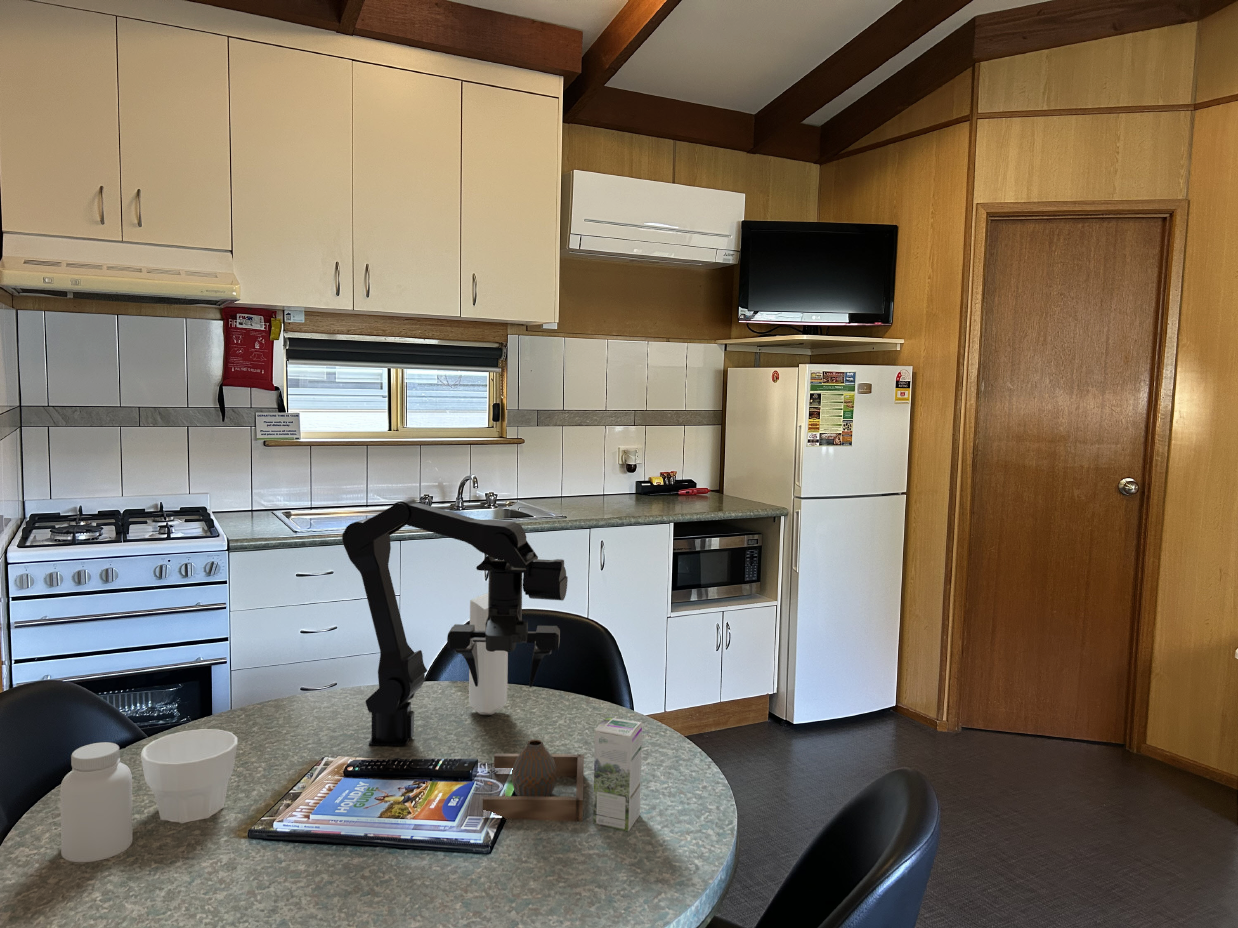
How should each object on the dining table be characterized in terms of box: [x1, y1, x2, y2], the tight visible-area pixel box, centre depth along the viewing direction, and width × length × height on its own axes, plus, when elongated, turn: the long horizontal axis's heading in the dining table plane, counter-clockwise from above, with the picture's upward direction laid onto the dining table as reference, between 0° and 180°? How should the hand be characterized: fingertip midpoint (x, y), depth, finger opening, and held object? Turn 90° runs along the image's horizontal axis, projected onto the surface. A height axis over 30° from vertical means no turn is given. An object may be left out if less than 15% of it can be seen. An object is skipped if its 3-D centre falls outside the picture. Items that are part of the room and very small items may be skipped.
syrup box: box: [592, 717, 643, 832], centre depth 126 cm, size 6×6×14 cm
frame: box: [482, 753, 585, 822], centre depth 133 cm, size 14×16×4 cm
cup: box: [140, 728, 239, 824], centre depth 123 cm, size 12×12×11 cm
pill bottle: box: [59, 741, 133, 863], centre depth 112 cm, size 8×8×15 cm
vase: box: [511, 739, 558, 797], centre depth 133 cm, size 7×7×9 cm
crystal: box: [468, 592, 509, 716], centre depth 165 cm, size 7×7×24 cm
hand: (503, 686), depth 148 cm, fingers open, 9 cm apart
